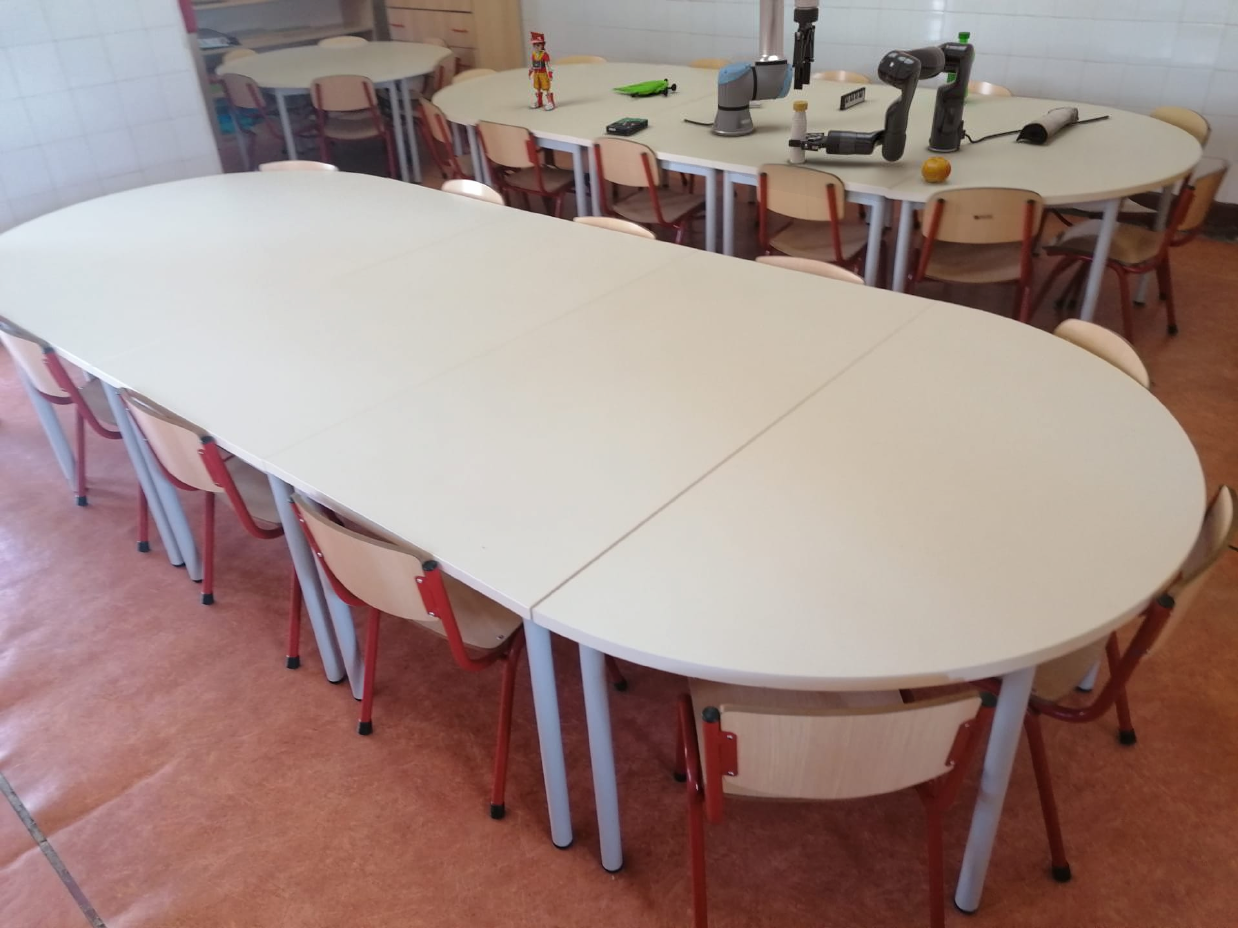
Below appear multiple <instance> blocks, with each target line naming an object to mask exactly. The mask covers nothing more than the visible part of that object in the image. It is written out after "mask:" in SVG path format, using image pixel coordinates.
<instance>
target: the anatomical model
mask: <svg viewBox="0 0 1238 928" xmlns="http://www.w3.org/2000/svg"><path fill="white" fill-rule="evenodd" d="M762 105H763V104H762V102H758V101H757V100H756V101H750V102H749V109H750V108H751V107H761V106H762Z"/></svg>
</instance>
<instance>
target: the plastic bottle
mask: <svg viewBox="0 0 1238 928" xmlns="http://www.w3.org/2000/svg"><path fill="white" fill-rule="evenodd" d="M970 36H971V32H970V31H959V32H958V36H957V39H958V42H959V43H968V41H969V39H970V38H971V37H970ZM975 57H976V51H975V49H974V59H973V62H974V61H975ZM946 77H947V78H946V83H950V82H952V81H954V80H955V78H956V74H950V73H947V76H946ZM968 95H969V86H968V87H967V91H966V97H965V99H966V98H967V96H968Z"/></svg>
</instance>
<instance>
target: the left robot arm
mask: <svg viewBox="0 0 1238 928" xmlns="http://www.w3.org/2000/svg"><path fill="white" fill-rule="evenodd" d="M793 5H794V7H795V8H794V9H793V22H794V23H796V24H797V23H798V27H797V30H796V31H795V32H794V43H793V55H792V56H793V57H792V64H791V63H789V62H788V57H787V56H786V55H785V54H784V34H785V32H784V31H785V0H759V31H758V32H759V39H758V40H759V44H758V45H759V48H758V49H759V50H758V51H759V53H758V57H757V58H755V60H754V66H752V65H751V63H750V62H747V61H742V62H741V61H739V62H737V61H736V62H732V63H729V64H728V63H727V64H726V65H724V66H722V67H720V69H719V70H718V75H717V111H716V114H715V118H714V120H713V122H711V123H710V122H709V123H705V122H699V121H695V120H690V119H686V118H684V119H683V121H684V122H687V123H691V124H695V125H701V126H706V127H707V126H710V127H711V126H712V133H713V134H715V135H717V136H721V137H741V136H746V135H750V134H752V133H754V127H755V126H754V122H753V118H752V115H751V111H750V108H749V102H750V101H756V102H757V101H768V100H773V101H775V100H778V99H780V100H781V99H784V98H786V97H787V96H788V94H789V92H790V90H791V87H792V84H793V90H797V91H798V90H799V91H802V90H803V89H804V87H803V86H804V85H808V86H810V85H811V73H812V72H811V71H812V63H814V62H815V33H816V25H815V24H813V23H816V22H818V21H819V13H820V12H819V11H820V9H819V6H820V0H794V4H793ZM793 68H794V74H793ZM792 81H793V83H792Z"/></svg>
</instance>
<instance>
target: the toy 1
mask: <svg viewBox="0 0 1238 928" xmlns="http://www.w3.org/2000/svg"><path fill="white" fill-rule="evenodd" d="M529 33H530V35H531V36H528V37H527V38H528V39H529V40H528V41H527V43H529V44H530V43H531V44H532V48H533V50H534V51H533V52H532V55H531V58H530V59H531V63H530V66H528V74H527V75H528V76H527V77H528V79H529V80H531V75H532V74H533V84H532V85H533V86H532V87H533V88H534V89H535V90H536V92H534V95H535V97H536V100H535V101H533V102H531V105H530V108H531V109H535V108H538V107H542V106H544V101H543V100H544V99H543V95H544V92H546V94H545V97H546V99H547V103H546V104H545V106H544V110H546V111H549V110H553V109H554V107H555V106H556V105H555V99H554V92H551V91H550V90H551V86H552V84H551V82H552V81H553V80H554V77H553V73H554V71H555V70H554V69H552V68H551V63H550V61H551V59H550V58H551V57H550V54H549V53H548V52H547V50H546V48H545V46H546V44H547V41H545V35H544V33H543V32H542V33H539V32H535V31H529Z"/></svg>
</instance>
